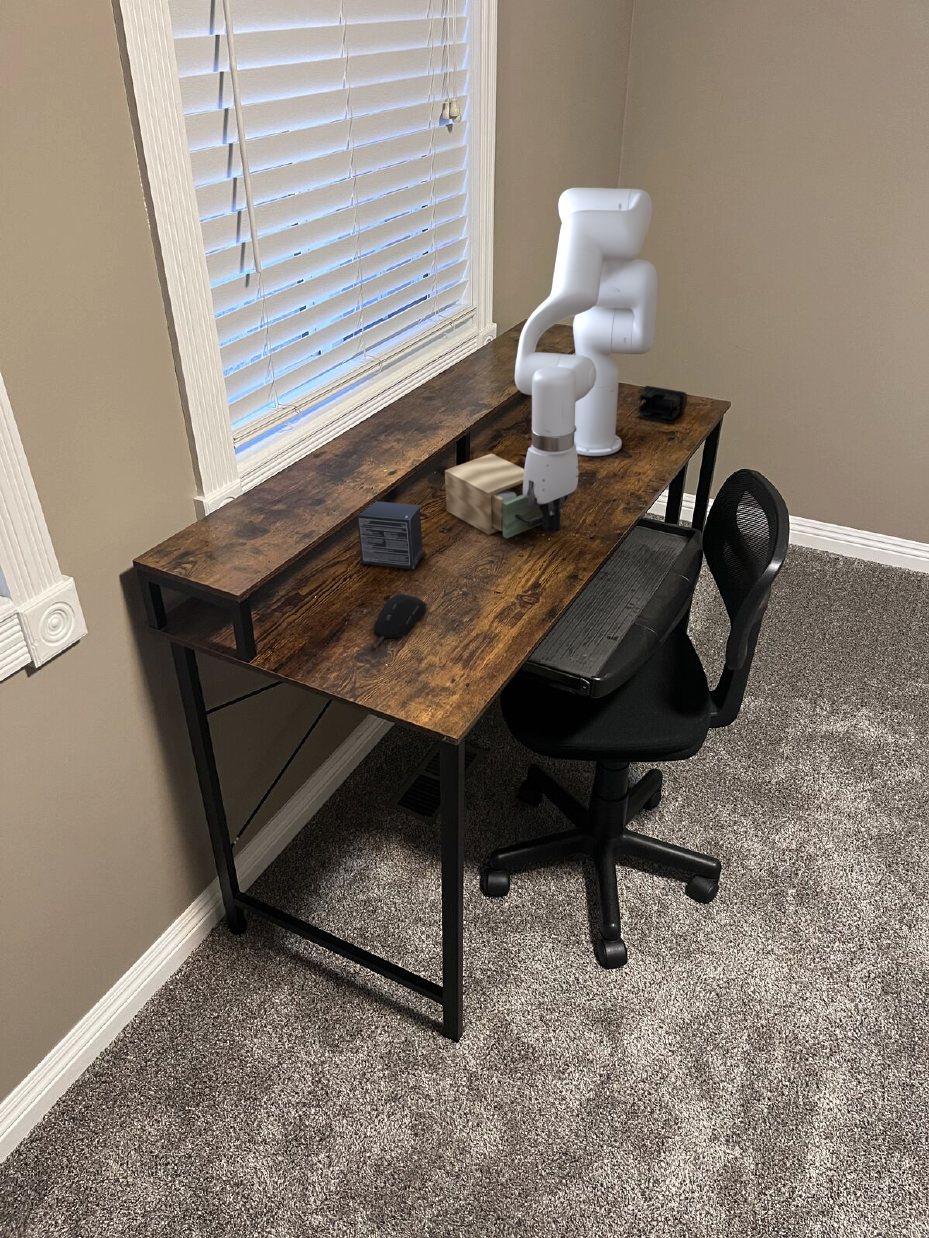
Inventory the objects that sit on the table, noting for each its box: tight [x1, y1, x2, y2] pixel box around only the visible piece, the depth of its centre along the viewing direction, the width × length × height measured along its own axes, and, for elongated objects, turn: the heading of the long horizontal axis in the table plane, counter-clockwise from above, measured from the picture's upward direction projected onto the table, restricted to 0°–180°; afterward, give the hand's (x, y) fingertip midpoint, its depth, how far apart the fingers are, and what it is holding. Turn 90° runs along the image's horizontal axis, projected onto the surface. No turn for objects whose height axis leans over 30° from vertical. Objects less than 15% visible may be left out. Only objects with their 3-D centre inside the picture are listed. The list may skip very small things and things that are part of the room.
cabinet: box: [444, 453, 524, 536], centre depth 185 cm, size 14×12×9 cm
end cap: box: [638, 385, 688, 425], centre depth 225 cm, size 10×7×7 cm
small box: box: [356, 500, 424, 570], centre depth 171 cm, size 11×6×10 cm, turn 74°
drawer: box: [491, 483, 547, 539], centre depth 180 cm, size 17×11×7 cm, turn 38°
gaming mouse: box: [373, 593, 427, 650], centre depth 154 cm, size 6×15×4 cm, turn 155°
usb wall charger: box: [496, 490, 516, 502], centre depth 182 cm, size 4×7×4 cm, turn 125°
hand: (550, 529), depth 174 cm, fingers closed
